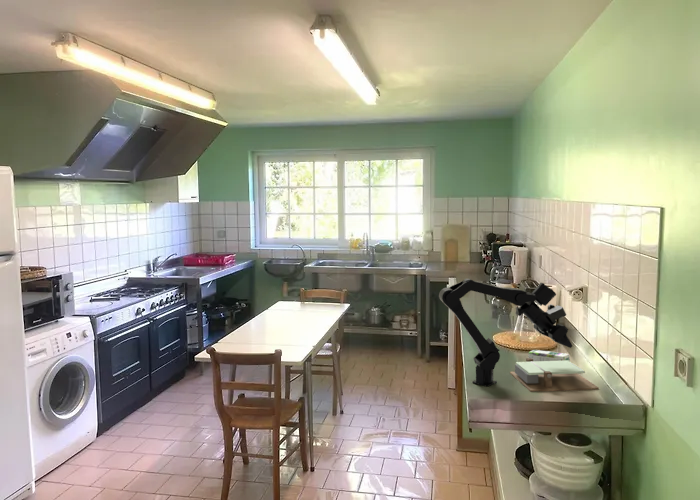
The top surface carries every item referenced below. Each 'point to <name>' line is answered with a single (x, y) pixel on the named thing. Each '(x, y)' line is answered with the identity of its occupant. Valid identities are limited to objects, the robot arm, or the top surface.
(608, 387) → the top surface
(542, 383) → the trapdoor frame
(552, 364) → the trapdoor
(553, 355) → the syrup box
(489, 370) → the robot arm
